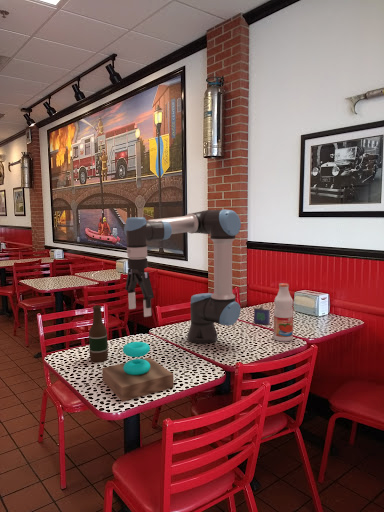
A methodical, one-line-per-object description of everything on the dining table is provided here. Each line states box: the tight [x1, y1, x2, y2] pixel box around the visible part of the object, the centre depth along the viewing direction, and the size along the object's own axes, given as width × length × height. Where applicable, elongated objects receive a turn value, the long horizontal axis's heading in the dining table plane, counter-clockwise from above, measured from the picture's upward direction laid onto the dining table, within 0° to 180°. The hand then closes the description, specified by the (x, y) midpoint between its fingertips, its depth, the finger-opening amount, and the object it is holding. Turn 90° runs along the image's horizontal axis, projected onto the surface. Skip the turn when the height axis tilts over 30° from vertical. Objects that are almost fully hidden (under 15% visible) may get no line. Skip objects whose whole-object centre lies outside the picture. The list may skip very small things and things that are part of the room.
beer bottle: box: [88, 304, 109, 363], centre depth 171 cm, size 8×8×24 cm
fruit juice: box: [273, 282, 294, 342], centre depth 196 cm, size 9×9×28 cm
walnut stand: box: [101, 357, 175, 402], centre depth 147 cm, size 20×20×5 cm
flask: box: [253, 305, 271, 326], centre depth 223 cm, size 9×3×11 cm, turn 61°
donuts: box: [122, 341, 151, 375], centre depth 146 cm, size 10×10×10 cm
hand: (139, 312), depth 152 cm, fingers open, 13 cm apart
